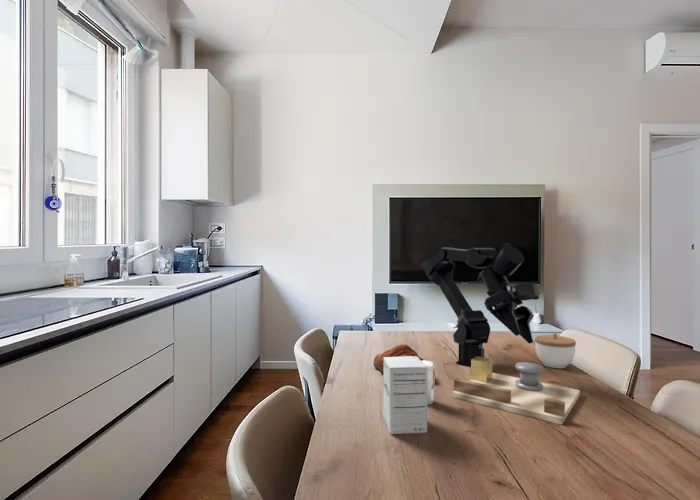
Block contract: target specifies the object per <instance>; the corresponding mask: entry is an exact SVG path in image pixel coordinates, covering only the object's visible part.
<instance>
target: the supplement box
mask: <svg viewBox="0 0 700 500" xmlns="http://www.w3.org/2000/svg"><path fill="white" fill-rule="evenodd" d="M383 359H384V375H383V383H382V384H383V391H382V392H383V395H382V397H383V403H382V404H383V405H382V406H383V408H382V409H383V413H382V415H383V419H384V421H385V423H386V426H387V428H388V431H389V434H391V435H402V434H407V435H408V434H422V433H423V434H425V433H428V404H427V366H426V365H425V364H424V363H423V362H422V361H421V360H420V359H419V358H418V357H417V356H404V357H384V358H383Z"/></svg>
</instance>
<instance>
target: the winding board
mask: <svg viewBox="0 0 700 500" xmlns="http://www.w3.org/2000/svg"><path fill="white" fill-rule="evenodd" d="M519 379H520V377H515V376H511V375H506V374H502V373H501V374H499V373H495V372H492V379H491V380H489V381H488V382H482V381H478V380H473V379H471V378H470V379H469V380H466V379H462V378H458V377H457V378H455V379H453V391H452V392H451V398H455V399H458V400H462V401H466V402H470V403H473V404H477V405H481V406H484V407H485V406H486V407H489V408H493V409H497V410H502V411H506V412H510V413H513V414H517V415H521V416H525V417H528V418H533V419H537V420H542V421H545V422H549V423H553V424H557V425H561V426H562V425H563V424H564V422H565V421H566V420H567V417H568V416H569V414H570V412H571V411H572V409H573V408H574V406H575V404H576V402H577V401H578V399H579V398H580V395H581V390H580V389H576V388H570V387H565V386H562V385H556V384H550V383H547V382H546V383H545V382H540V381H539V382H540V383H542V384H543V389H542V390H540V391H528V390H523V389H520V388H518V387H516V380H519Z"/></svg>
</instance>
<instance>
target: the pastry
mask: <svg viewBox="0 0 700 500" xmlns="http://www.w3.org/2000/svg"><path fill="white" fill-rule="evenodd" d="M404 356H417V357H418V358H419V359H420V360H421V361H423V360H424V359H423V358H422V357H420V356H419V355H418V353H417V352H416V351H415V350H414V349H413V348H411V347H410V346H409V345H408V344H405V343H404V344H399V345H395V346H394V347H392V348H391V349H387V350H385V351H383V352H382V353H379V354H376V355H375V357H374V359H373V363H372V364H373V367H374V368H375V369H376V370H377V371H379V372H380V373H381V374H382V375H383V376H384V359H383V358H384V357H404Z"/></svg>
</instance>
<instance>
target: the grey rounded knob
mask: <svg viewBox="0 0 700 500" xmlns="http://www.w3.org/2000/svg"><path fill="white" fill-rule="evenodd" d="M515 369H516V370H517V371H519V378H520V379H519V380H516V387H518V388H520V389H523V390H528V391H540V390H542V389H543V384H542V383H543V382H541V383H540V381H539V374H541V373H543V371H544V368H543V366H542V365H540V364H538V363H534V362H528V361H527V362H523V361H522V362H517V363H515Z"/></svg>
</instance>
